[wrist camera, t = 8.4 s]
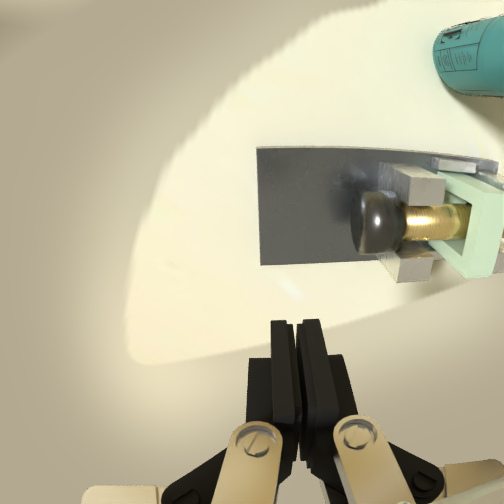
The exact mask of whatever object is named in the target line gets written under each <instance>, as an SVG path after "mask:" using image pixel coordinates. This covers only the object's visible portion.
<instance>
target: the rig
mask: <svg viewBox="0 0 504 504" xmlns="http://www.w3.org/2000/svg"><path fill="white" fill-rule="evenodd" d="M256 155H257V182H258V210H259V239H260V264H261V265H284V264H307V263H328V262H349V261H369V260H379V261H380V262H381V263H382V265H383V266H384V267H385V268H386V270H387V271H388V272H389V274H390V275H391V277H392V278H393V279H394V281H395V282H396V283H403V282H415V281H426V280H429V278H430V274H431V269H432V265H433V260H441V259H445V258H444V257H443V256H441V255H440V254H439V253H438V252H437V251H436V250H435V249H434V248H433V247H432V246H430V245H429V244H428V240H426V241H401V244H400V247H399V248H398V250H397V251H396V252H395V253H393V254H373V255H360V254H358V252H357V251H356V249H355V247H354V244H353V240H352V234H351V224H350V214H351V204H352V199H353V196H354V194H355V192H356V191H357V190H392V191H394V192H395V193H396V194H397V196H398V198H399V200H400V202H404V203H405V204H407V205H408V206H443V202H444V194H445V186H446V179H445V178H443V177H441V176H439V175H437V172H438V171H446V172H457V173H463V174H466V175H468V176H471V177H473V178H475V179H477V180H480V181H482V182H484V183H486V184H489V185H491V186H493V187H495V188H497V189H499V190H501V191H503V192H504V176H502V175H499V174H497V171H498V162H496V161H493V160H489V159H482V158H475V157H468V156H461V155H453V154H444V153H435V152H425V151H414V150H402V149H388V148H370V147H345V146H265V147H256ZM466 204H471V203H469V202H467V203H466ZM502 272H504V243H503V242H502V241H501V242H500V246H499V250H498V254H497V258H496V262H495V266H494V269H493V273H492V274H494V273H502Z"/></svg>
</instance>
